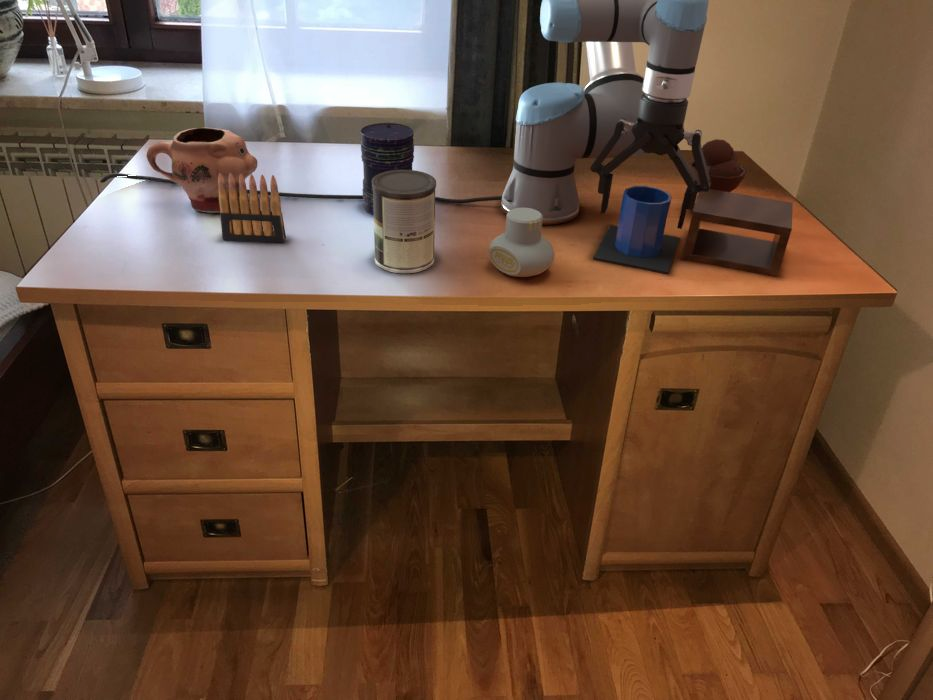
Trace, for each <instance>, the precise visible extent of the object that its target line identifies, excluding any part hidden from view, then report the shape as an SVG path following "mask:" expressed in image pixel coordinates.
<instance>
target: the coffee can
mask: <svg viewBox="0 0 933 700" xmlns="http://www.w3.org/2000/svg"><path fill="white" fill-rule="evenodd" d="M372 187H373V212H374V215H373V235H374V236H373V237H374V238H373V239H374V240H373V241H374V263H375V265H376V266H377V267H378V268H380V269H382V270H384V271H386V272H390V273H395V274H415V273H419V272H423V271H425V270H427V269H429V268H430V267H432V266H433V265H434V263H435V260H436V259H435V237H436V236H435V234H436V233H435V229H436V228H435V226H436V201H435V197H436V188H437V180H436V178H435V177H434V176H433V175H432V174H429V173H426V172H424V171H420V170H415V169H412V170H391V171H386V172H383V173H380V174H378V175H376V176H375V177H374V178H373V179H372Z"/></svg>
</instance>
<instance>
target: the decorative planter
mask: <svg viewBox="0 0 933 700" xmlns="http://www.w3.org/2000/svg"><path fill="white" fill-rule="evenodd" d="M246 144H247V143H246V141H245V140H244V138H243V137H241V136H239V135H237V134H235V133H234V132H232V131H231V130H228V129H222V128H221V129H220V128H213V127H192V128H188V129H185V130H181V131H179V132H178V133H176V134H175V135H174V137H173V138H172V141H161V142H160V141H159V142H155V143H153V144H152V145H150V146H149V147H148V148H147V151H146V160H147V162H148V165H150V167H151V169H153V170H154V171H155V172H157V173H159V174H161V175H163V176H164V177H165V178H166V179H170V180H172V181H173V182H175V183H177V184H176V185H178V186H180V187H181V188H182V189H183V190H184V192H185V193H186V195H187V198H188V199H189V202H190V205H191V207H192V209H193V210H195V211H197V212H201V213H202V212H204V213H221V210H220V203H219V187H218V176H219V173H221V174H222V176H223V178H224V181H225V185H226V190H227V194H228V197H229V184H228V180H229V174H230V173H231V174H232V175H233V177H234V180H235V184H236V189H237V194H238V197H239V196H240V194H239V176H240V174H242V175H243V177H244V179H245V180H246V179H247V178H248V177H250V175H251V174H252V175H253V173H255V171H256V170H257V168H258V165H259V164H258V159H257V157H255V156H254V155H252V154H251V153H250V152H249V151H248V148H247V145H246ZM159 154H166V155H167V156H168V157H169V158H170V159H171V172H167V171H165V170H164V169H162V168H160V167H159V165H158V164H157V162H156V160H157V159H156V158H157V156H158V155H159ZM239 202H240V201H239ZM229 203H230V202H229Z"/></svg>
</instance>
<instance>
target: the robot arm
mask: <svg viewBox="0 0 933 700" xmlns="http://www.w3.org/2000/svg"><path fill="white" fill-rule="evenodd" d="M709 2H710V0H541V5H540V12H539V13H540V15H539V23H540V24H539V25H540V28H541V29H540V31H541V34H542V37H543V38H544V39H545V40H547V41H549V42H561V43H563V44H564V43H565V44H570V43H585V47H586V56H587V65H588V73H589V82H588V83H587V85H586V86H585V87H584V88H583V87H582V86H581V85H579V84H577V83H573V82H572V83H571V82H566V83H564V82H547V83H542V84H538V85H535V86H532V87H529V88H528V89H526V90H525V91H524V92H523V93H522V94H521V95H520V97H519V100H518V106H517V112H516V116H515V121H516V124H515V125H516V126H515V139H514V151H513V152H514V153H513V166H512V171H511V173H510V175H509V178H508V180H507V182H506V185H505V187H504V190H503V192H502V195H495V196H494V195H493V196H492V195H491V196H482V197H481V196H480V197H479V196H478V197H471V198H470V197H469V198H463V199H462V198H460V199H459V198H458V199H456V198H445V197H439V196H435V202H440V203H446V204H470V203H476V202H477V203H479V202H489V201H492V202H493V201H500V209H501V211H502V212H503V213H504V214H505V215H506V216H507V213H508V212H509V211H510V210H512V209H515V208H531V209H534V210H537V211H539V212H540V213H541V214H542V216H543V221H542V226H545V225H546V226H548V225H549V226H550V225H559V224H564V223H567V222H570V221H572V220H574V219H575V218H576V217H578V215H579V213H580V198H579V193H578V188H577V184H576V183H577V182H576V179H575V167H576V161H577V160H578V159H595V160H594V161H593V162H592V164H591V165H590V167H589V170H590V172H591V173H596V174H597V175H598V176H599V180H598V185H597V194H600V195H602V199H601V206H600V212H599V213H600V214H601V215H605V214H606V212H607V211H608V209H609V208H608V207H609V202H610V196H611V189H612V183H613V177H614V173H612V172H613V171H615V170H616V169H617V168H618V167H619V166H620V165H622V164H623V163H624V162H625V161H626V160H628V159H630V158H636V157H643V156H645V155H647V154H655V155H657V156H661V157H662V156H665V155H667V156H668V158H669V159H670V160H671V162H673V164H674V166H675V168H676V169H677V171H678V173H679V174H680V176H681V178H682V180H683V182H684V184H685V185H686V186H687V187H686V189H685V192H684V194H683V200H682V205H681V209H680V212H679V218H678V222H677V226H676V229H678V230H682V229H683V226H684V224H685V223H684V221H685V218H686V213H687V211H693V209H694V206H695V203H696V200H697V196H698V193H699V192H701V191H704V192H707V191H709V189H710V185H711V181H710V177H709V173H708V170H707V166H706V162H705V158H704V154H703V150H702V147H703V146H702V137H703V136H702V135H703V132H702V130H701V129H696V130H695V131H691V130H690V131H688V130H685V128H684V127H685V126H684V125H685V120H686V116H687V111H688V106H689V100H688V99H687V98H689V97H690V96H691V91H692V87H693V82H694V79H695V73H696V67H697V63H698V57H699V54H700V49H701V45H702V40H703V36H704V31H705V28H706V24H707V22H708V20H707V19H708V16H707V15H708V8H709ZM633 43H644V44H646V45H648V46H649V48H648V54H647V60H646V64H645V65H646V66H645V72H644V76H643V75H641V74H640V73H638V72H637V70H636V69H637V68H636V62H635V53H634V46H633ZM683 140H686V144H687V145H688V146H690V147H691V153H692V157H693V159H694V161H695V165H696V169H697V172H698V176H699V180H700V182H698V181H697V179H696V178H695V176H694V174H693V172H692V171H691V169H690V167H689V165H688V164H689V163H688V162H687V160H686V158H685V157H684V154H683V153H682V151H681V148H680V146H679V144H680V143H681V142H682V141H683ZM606 159H611V160H610V161H609V162H608V163H606V165H604V164H602V163H603V162H604V161H605V160H606ZM128 175H130V174H128V173H122V172H121V173H120V172H114V173H110V174H107V175H105V176H103V177H102V178H101V179H100V180H99V183H101V184H102V183H106V182H107V181H108V180H110V179H113V178H118V177H117V176H127V177H121V179H130V180H139V181H152V182H159V183H166V184H172V185H178V184H177V183H175V182H173V181H172V180H170V179H169V178H163V177H158V176H149V175H136V174H135V175H136V176H128ZM257 192H258V196H260V190H258V189H257ZM247 193H248V195H250V189H248V188H247ZM278 193H279V197H280V198H281V197H282V198H296V199H297V198H299V199H300V198H301V199H319V200H363V194H320V193H319V194H318V193H315V194H314V193H294V192H280V191H278ZM268 195H269V197H271V191H268Z"/></svg>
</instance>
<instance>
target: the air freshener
mask: <svg viewBox="0 0 933 700" xmlns="http://www.w3.org/2000/svg"><path fill="white" fill-rule="evenodd" d="M542 221H543V216H542V214H541V213H540V212H539V211H537V210H534V209H531V208H515V209H512V210H510V211H509V212H508V213H507V215H506V219H505V228H504V229H505V230H504V232H503V233H500V234H499V235H498V236H496V237H495V238H493V240H492V241H491V243H490V244H489V246H488V258H489V260H490V262H491V264H492V265H493V266H494V267H495V268H496V269H498V270H499V271H500V272H501V273H503V274H505V275H507V276H508V277H509V276H510V277H517V278H529V277H534V276H538V275H540V274H542V273H544V272H545V271H547V270H548V269H549V268H550V267H551V266H552V265H553V262H554V260H555V250H554V247H553V245H552V244H551V242H550V240H548V239H547V238H546V237H544V236H543V235H542V231H543V225H542Z"/></svg>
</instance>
